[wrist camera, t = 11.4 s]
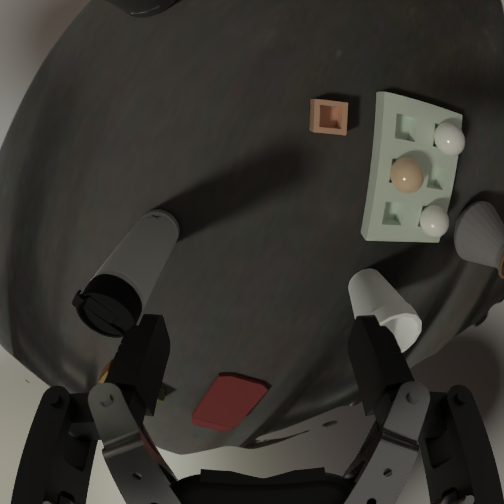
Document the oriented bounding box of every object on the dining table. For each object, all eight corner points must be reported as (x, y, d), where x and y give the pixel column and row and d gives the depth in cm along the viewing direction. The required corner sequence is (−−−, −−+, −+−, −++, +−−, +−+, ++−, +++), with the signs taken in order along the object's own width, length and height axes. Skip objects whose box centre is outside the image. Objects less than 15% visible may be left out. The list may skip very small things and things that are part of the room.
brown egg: (387, 151, 32) (403, 159, 27) (415, 156, 32) (433, 165, 27) (381, 184, 34) (396, 196, 30) (409, 188, 34) (426, 200, 30)
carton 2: (221, 357, 59) (187, 411, 67) (221, 373, 55) (186, 425, 62) (268, 372, 62) (227, 422, 70) (270, 387, 57) (227, 435, 65)
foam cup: (338, 309, 47) (357, 366, 36) (339, 265, 42) (364, 322, 31) (387, 299, 46) (414, 351, 35) (392, 256, 42) (428, 306, 30)
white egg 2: (429, 117, 29) (449, 120, 24) (452, 124, 29) (473, 129, 24) (425, 149, 31) (445, 156, 27) (449, 154, 31) (468, 162, 27)
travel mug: (154, 198, 37) (83, 279, 20) (188, 228, 39) (144, 326, 22) (131, 227, 39) (64, 314, 22) (164, 254, 42) (115, 352, 24)
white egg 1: (417, 199, 35) (434, 211, 31) (440, 201, 35) (458, 214, 30) (411, 228, 37) (426, 243, 33) (434, 229, 37) (449, 244, 33)
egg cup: (310, 99, 30) (314, 98, 28) (342, 103, 30) (348, 102, 28) (309, 130, 33) (313, 132, 30) (340, 133, 32) (346, 135, 30)
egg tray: (376, 91, 29) (384, 91, 27) (452, 113, 29) (462, 115, 27) (360, 232, 40) (366, 240, 37) (431, 235, 40) (438, 242, 37)
